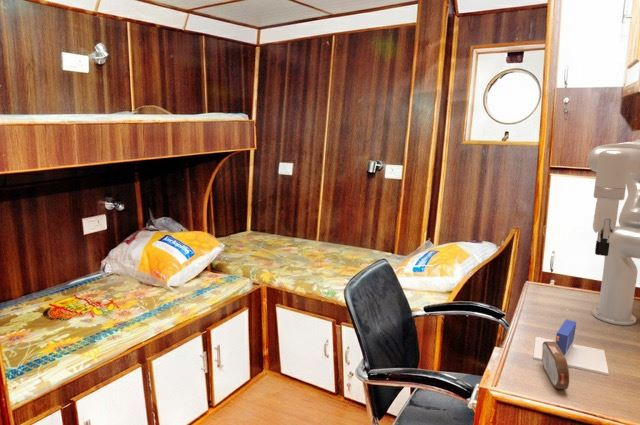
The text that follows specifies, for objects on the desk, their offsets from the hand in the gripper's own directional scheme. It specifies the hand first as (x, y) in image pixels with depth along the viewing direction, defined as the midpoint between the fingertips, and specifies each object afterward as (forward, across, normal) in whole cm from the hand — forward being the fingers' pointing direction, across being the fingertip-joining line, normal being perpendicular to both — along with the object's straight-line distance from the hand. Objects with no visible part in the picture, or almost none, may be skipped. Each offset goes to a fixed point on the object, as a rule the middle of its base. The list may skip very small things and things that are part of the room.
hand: (601, 254), depth 135 cm
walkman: (+22, +9, -6) cm, 25 cm away
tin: (+27, +30, -10) cm, 42 cm away
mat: (+27, +15, -6) cm, 31 cm away
